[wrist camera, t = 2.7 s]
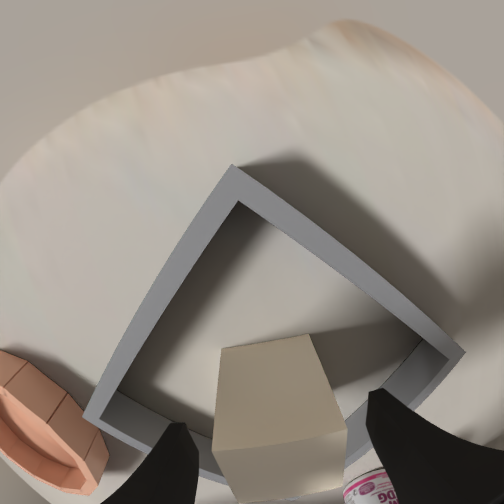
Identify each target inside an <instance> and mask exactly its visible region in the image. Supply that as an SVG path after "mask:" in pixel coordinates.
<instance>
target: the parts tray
mask: <svg viewBox="0 0 504 504" xmlns="http://www.w3.org/2000/svg"><path fill="white" fill-rule="evenodd" d="M237 201H240V202H241V203H243V204H244V205H246V206H247V207H249V208H250V209H251V210H253V211H254V212H256V213H257V214H259V215H260V216H261V217H263V218H264V219H266V220H267V221H268V222H270V223H271V224H273V225H274V226H276V227H277V228H278V229H280V230H281V231H283V232H284V233H285V234H287V235H288V236H289V237H291V238H292V239H294V240H295V241H296V242H298V243H299V244H301V245H302V246H303V247H305V248H306V249H307V250H309V251H310V252H312V253H313V254H314V255H316V256H317V257H318V258H320V259H321V260H322V261H324V262H325V263H326V264H328V265H329V266H331V267H332V268H333V269H335V270H336V271H337V272H339V273H340V274H341V275H343V276H344V277H345V278H347V279H348V280H349V281H351V282H352V283H353V284H355V285H356V286H357V287H358V288H360V289H361V290H362V291H364V292H365V293H366V294H368V295H369V296H370V297H372V298H373V299H374V300H375V301H377V302H378V303H379V304H381V305H382V306H383V307H385V308H386V309H387V310H388V311H390V312H391V313H392V314H393V315H395V316H396V317H397V318H399V319H400V320H401V321H402V322H404V323H405V324H406V325H407V326H409V327H410V328H411V329H412V330H414V331H415V332H416V333H417V334H419V335H420V336H421V337H422V338H423V340H422V341H421V342H420V343H419V345H418V346H417V347H416V348H415V349H414V351H413V352H412V353H411V354H410V355H409V356H408V358H407V359H406V360H405V361H404V362H403V363H402V364H401V366H400V367H399V368H398V369H397V370H396V371H395V372H394V373H393V374H392V375H391V377H390V378H389V379H388V380H387V381H386V382H385V383H384V384H383V385H382V386H381V387H380V388H384V389H386V390H387V391H388V392H389V393H391V394H392V395H393V396H394V397H396V398H397V399H398V400H399V401H401V402H402V403H403V404H405V405H406V406H407V407H408V408H410V409H411V410H413V411H414V410H415V409H416V408H417V407H418V406H419V405H420V404H421V403H422V402H423V401H424V400H425V399H426V398H427V397H428V396H429V395H430V394H431V393H432V392H433V391H434V390H435V388H436V387H437V386H438V385H439V384H440V383H441V382H442V381H443V380H444V378H445V377H446V376H447V375H448V374H449V373H450V371H451V370H452V369H453V368H454V367H455V365H456V364H457V363H458V362H459V360H460V359H461V358H462V357H463V355H464V354H465V353H466V352H465V351H464V350H463V349H462V348H461V347H460V346H459V345H458V344H457V343H456V342H455V341H454V340H453V339H452V338H450V337H449V336H448V335H447V334H446V333H445V332H444V331H443V330H442V329H441V328H440V327H439V326H438V325H436V324H435V323H434V322H433V321H432V320H431V319H430V318H429V317H428V316H427V315H425V314H424V313H423V312H422V311H421V310H420V309H419V308H418V307H416V306H415V305H414V304H413V303H412V302H411V301H410V300H408V299H407V298H406V297H405V296H404V295H403V294H402V293H400V292H399V291H398V290H397V289H396V288H395V287H393V286H392V285H391V284H390V283H389V282H387V281H386V280H385V279H384V278H383V277H381V276H380V275H379V274H378V273H377V272H375V271H374V270H373V269H372V268H371V267H369V266H368V265H367V264H366V263H365V262H363V261H362V260H361V259H360V258H358V257H357V256H356V255H355V254H353V253H352V252H351V251H350V250H348V249H347V248H346V247H345V246H343V245H342V244H341V243H340V242H338V241H337V240H336V239H334V238H333V237H332V236H331V235H329V234H328V233H327V232H325V231H324V230H323V229H321V228H320V227H319V226H318V225H316V224H315V223H314V222H312V221H311V220H310V219H308V218H307V217H306V216H304V215H303V214H302V213H300V212H299V211H298V210H296V209H295V208H294V207H292V206H291V205H289V204H288V203H287V202H285V201H284V200H283V199H281V198H280V197H279V196H277V195H276V194H274V193H273V192H272V191H270V190H269V189H267V188H266V187H265V186H263V185H262V184H260V183H259V182H257V181H256V180H255V179H253V178H252V177H250V176H249V175H247V174H246V173H245V172H243V171H242V170H240V169H239V168H237V167H236V166H234V165H233V164H231V165H230V167H229V168H228V170H227V171H226V172H225V174H224V175H223V177H222V178H221V179H220V181H219V182H218V184H217V185H216V187H215V188H214V190H213V191H212V192H211V194H210V195H209V197H208V198H207V200H206V201H205V203H204V204H203V206H202V207H201V209H200V210H199V212H198V213H197V215H196V216H195V218H194V219H193V221H192V222H191V224H190V225H189V227H188V228H187V230H186V231H185V233H184V234H183V236H182V238H181V239H180V241H179V242H178V244H177V245H176V247H175V249H174V250H173V252H172V253H171V255H170V257H169V258H168V260H167V261H166V263H165V265H164V266H163V268H162V270H161V271H160V273H159V274H158V276H157V278H156V279H155V281H154V283H153V284H152V286H151V288H150V289H149V291H148V293H147V295H146V296H145V298H144V300H143V301H142V303H141V305H140V307H139V308H138V310H137V312H136V314H135V315H134V317H133V319H132V321H131V322H130V324H129V326H128V328H127V330H126V331H125V333H124V335H123V337H122V339H121V340H120V342H119V344H118V346H117V348H116V350H115V352H114V354H113V355H112V357H111V359H110V361H109V363H108V365H107V367H106V369H105V371H104V373H103V375H102V377H101V379H100V381H99V383H98V385H97V387H96V389H95V391H94V393H93V395H92V397H91V399H90V401H89V403H88V405H87V407H86V409H85V411H84V414H83V416H82V418H84V419H86V420H87V421H89V422H90V423H92V424H93V425H95V426H97V427H98V428H100V429H102V430H103V431H105V432H107V433H108V434H110V435H112V436H114V437H115V438H117V439H119V440H121V441H123V442H124V443H126V444H128V445H130V446H132V447H134V448H136V449H138V450H140V451H142V452H144V453H146V454H149V453H150V451H151V450H152V449H153V447H154V446H155V444H156V443H157V441H158V440H159V438H160V437H161V436H162V434H163V433H164V431H165V430H166V428H167V427H168V425H169V424H170V423H174V422H172V421H170V420H168V419H166V418H165V417H163V416H161V415H159V414H157V413H155V412H153V411H151V410H149V409H148V408H146V407H144V406H142V405H141V404H139V403H137V402H135V401H134V400H132V399H130V398H129V397H127V396H125V395H124V394H122V393H120V392H119V391H117V390H116V389H117V387H118V385H119V383H120V382H121V380H122V378H123V377H124V375H125V373H126V372H127V370H128V368H129V367H130V365H131V363H132V362H133V360H134V358H135V357H136V355H137V353H138V352H139V350H140V348H141V347H142V345H143V344H144V342H145V340H146V339H147V337H148V335H149V334H150V332H151V331H152V329H153V327H154V326H155V324H156V323H157V321H158V320H159V318H160V316H161V315H162V313H163V312H164V310H165V308H166V307H167V305H168V304H169V302H170V301H171V299H172V298H173V296H174V294H175V293H176V291H177V290H178V288H179V287H180V285H181V284H182V282H183V281H184V279H185V278H186V276H187V275H188V273H189V272H190V270H191V269H192V267H193V266H194V264H195V262H196V261H197V260H198V258H199V257H200V255H201V254H202V252H203V251H204V249H205V248H206V246H207V245H208V243H209V242H210V240H211V239H212V237H213V236H214V234H215V233H216V231H217V230H218V229H219V227H220V226H221V224H222V223H223V221H224V220H225V218H226V217H227V216H228V214H229V213H230V211H231V210H232V208H233V207H234V206H235V204H236V203H237ZM380 388H379V389H380ZM367 406H368V400H367V401H366V402H365V403H364V404H363V405H362V406H361V407H360V408H359V409H357V410H356V411H355V412H354V413H353V414H352V415H351V416H350V417H349V418H348V419H346V420H345V424H346V426H347V429H348V430H347V444H346V456H345V466H344V469H345V468H347V467H348V466H349V465H351V464H352V463H354V462H355V461H356V460H358V459H359V458H360V457H362V456H363V455H364V454H365V453H367V452H368V451H369V450H370V449H372V448H373V445H372V442H371V439H370V437H369V434H368V431H367V428H366V425H365V423H366V415H367ZM188 430H189V429H188ZM189 433H190V435H191V437H192V439H193V441H194V443H195V445H196V446H197V448H198V450H199V476H201V477H203V478H206V479H209V480H212V481H215V482H218V483H221V484H224V485H228V483H227V481H226V479H225V477H224V475H223V473H222V471H221V469H220V467H219V465H218V463H217V461H216V459H215V457H214V455H213V453H212V439H209V438H207V437H205V436H202V435H200V434H198V433H196V432H193V431H191V430H189ZM228 486H229V485H228ZM300 497H302V496H297V497H292V498H285V500H290V501H295V500H296V499H298V498H300Z"/></svg>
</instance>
